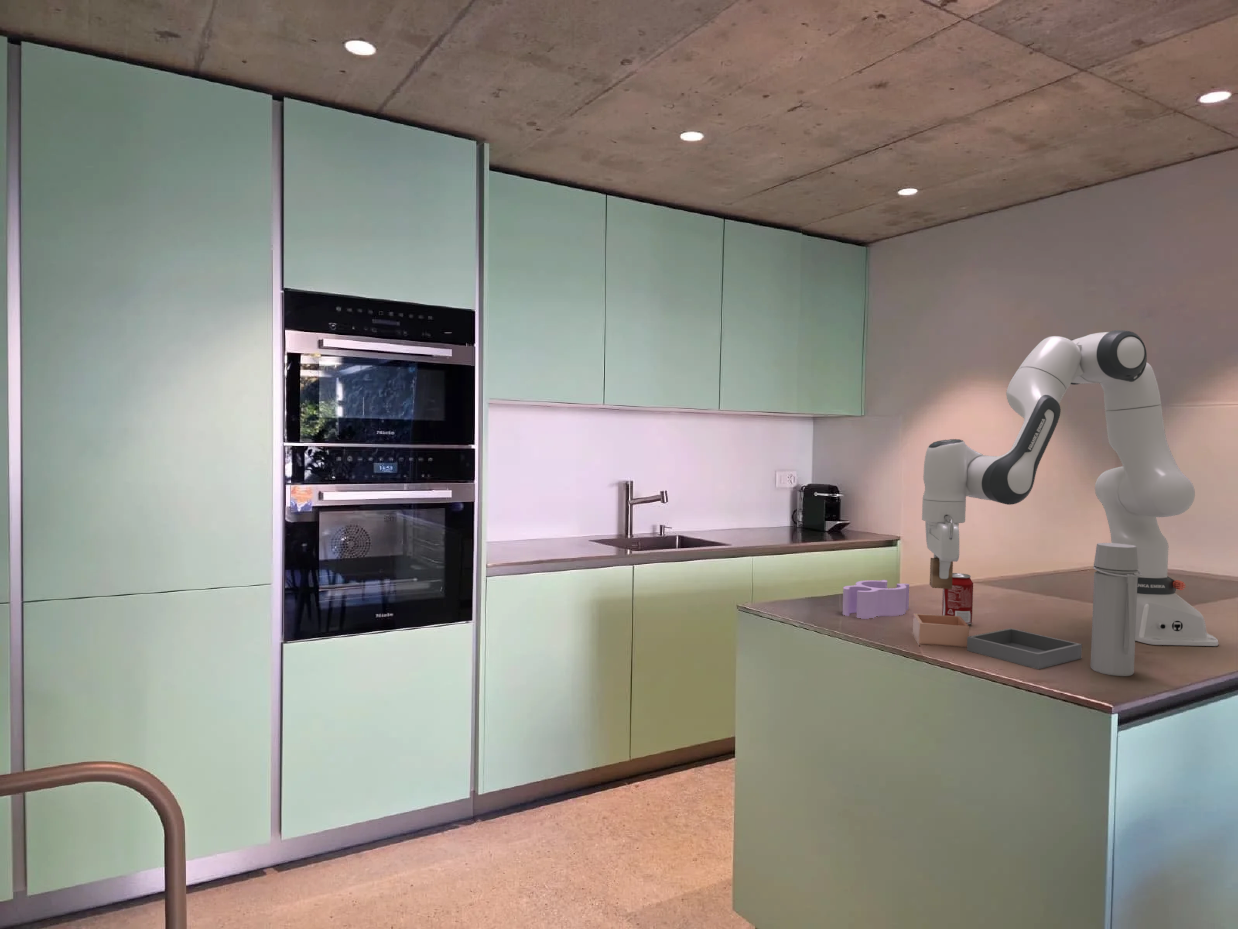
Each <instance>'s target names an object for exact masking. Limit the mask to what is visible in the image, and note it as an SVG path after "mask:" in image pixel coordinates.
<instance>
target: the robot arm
mask: <svg viewBox="0 0 1238 929" xmlns="http://www.w3.org/2000/svg"><path fill="white" fill-rule="evenodd" d="M1147 360H1148V352H1147V347H1146V345H1145V343H1144V341H1143V340H1142V338H1141V337H1140V336H1139V334H1137V333H1136V332H1133V331H1131V330H1122V329H1116V330H1112V331H1106V332H1105V331H1104V332H1103V331H1101V332H1095V333H1090V334H1087V335H1085V336H1081V337H1078V338H1075V339H1069V338H1067V337H1064V336H1059V335H1053V336H1047V337H1045V338H1044V339H1043V340H1041V341H1039V343H1038V344H1037V345H1036V346H1035V347H1034V348H1033V349H1032V350H1031V352H1030V353H1029V354H1028V355H1027V356H1026V357H1025V359H1024V360H1023V361H1022V363H1021V364H1020V365H1019V367H1018V369H1017V370H1016V371H1015V373H1014V375H1013V377H1012V378H1011V380H1010V381H1009V383H1008V386H1007V388H1006V392H1005V395H1006V400H1007V403H1008V405H1009V406H1010V408H1011V409H1012V411H1014V412H1015V413H1017V415H1019V416H1020V417H1022V418H1023V422H1022V426H1021V427H1020V430H1019V431H1018V434H1017V435H1016V438H1015V440H1014V442H1013V444H1012V446H1011V448H1010V449H1009V451H1007V452H1006V453H1004V454H1001V455H999V456H997V455H986V454H985V455H983V454H984V453H980V452H978V451H976V450H974V449H973V448H971V447H970V446H968V445H967V444H966V442H965V441H964V440H962V439H957V438H955V439H954V438H951V439H942V440H936V441H933V442H932V443H930V444H929V445H928V446H927V449H926V451H925V456H924V464H923V476H922V477H923V478H922V479H923V484H924V493H923V495H922V507H921V508H922V510H921V511H922V513H921V520H922V521H925V525H924V526H925V541H926V548H927V549H928V550H929V551H930V552H931V553H932V554H933V558H939V562H940V567H939V577H940V578H941V579H947V578H948V577H949V568H950V564H951V561H952V562H953V563H955V562H958V561H959V558H960V529H959V525H960V524H963V523H965V522H966V508H967V506H966V505H967V504H966V503H967V497H969V498H973V499H978V500H983V501H984V500H985V501H993V502H996V503H998V504H999V503H1000V504H1003V505H1009V506H1010V505H1011V506H1012V505H1016V504H1019V503H1021V502H1022V501H1024V500H1025V499H1026V498H1027V497H1028V496H1029V494H1030V493H1031V492H1032V489H1033V486H1034V485H1035V484H1034V483H1035V479H1036V475H1037V472H1038V467H1039V464H1040V462H1041V460H1042V457H1043V456H1044V454H1045V452H1046V449H1047V448H1048V446H1049V443H1050V441H1051V439H1052V437H1053V434H1054V432H1055V430H1056V428H1057V425H1058V423H1059V420H1060V417H1061V413H1062V412H1061V405H1060V403H1061V401H1062V400H1063V397H1064V395H1065V394H1066V393H1067V390H1068V389H1069V388H1070V386H1071V385H1083V384H1084V385H1085V384H1099V385H1100V386H1101V389H1102V391H1103V401H1104V402H1103V405H1104V414H1105V416H1104V417H1105V423H1106V431H1107V432H1106V433H1107V440H1108V444H1109V446H1110V448H1112V449H1113V451H1114V452H1115V453H1116V454H1117V456H1118V458H1119V461H1120V462H1121V465H1122V466H1118V467H1114V468H1110V469H1106V470H1105V471H1103V472H1102V473H1101V474H1100V475H1098V477H1097V479H1096V481H1095V485H1094V492H1095V495H1096V498H1097V499H1098V500H1099V502H1100V504H1102V506H1103V509H1104V511H1105V512H1104V513H1105V516H1106V519H1107V524H1108V527H1109V533H1110V543H1118V544H1128V545H1134V546H1137V559H1138V569H1137V570H1138V571H1140V572H1141V573H1142V575H1141V576H1139V577H1138V581H1137V606H1136V630H1135V642H1140V643H1142V644H1148V645H1156V646H1162V645H1163V646H1200V647H1202V646H1203V647H1205V646H1206V647H1217V646H1218V645H1219V640H1218V638H1216V637H1215V636H1214V635H1212V634H1209V633H1208V632H1207V625H1206V621H1205V617H1204V616H1203V614H1202V613H1201V612H1200V611H1199V610H1198V609H1196V607H1194V606H1192V605H1191V604H1190V603H1189V602H1187V601H1186V600H1185V599H1184V598H1182V597H1181V596H1179V595H1178V594H1177V593H1176V591H1178V590H1179V591H1183V590H1184V589H1185V588H1186V583H1185V582H1184V581H1183V580H1179V579H1172V577H1169V576H1168V569H1169V542H1168V539H1167V538H1166V537H1165V536H1164V534H1163V532H1162V531H1161V528H1160V526H1159V523H1158V519H1157V518H1167V517H1174V516H1179V515H1181V514H1183V513H1185V512H1187V511H1188V510H1189V509H1190V508H1191V506H1192V505H1193V503H1194V501H1195V496H1196V492H1195V486H1194V485H1193V483H1192V480H1190V478H1188V477H1187V476H1186V475H1185V474H1184V473H1183V472H1182V470H1181V469H1180V468H1179V466H1178V464H1177V462H1176V460H1175V457H1174V456H1173V454H1172V451H1171V448H1170V446H1169V443H1168V440H1167V436H1166V431H1165V423H1164V417H1163V408H1162V400H1161V394H1160V389H1159V385H1158V384H1159V383H1158V381H1157V380H1158V379H1157V378H1156V374H1155V371H1154V368H1153V366H1152V365H1151V364H1150V363H1148V362H1147ZM1134 574H1135V575H1139V573H1138V572H1137V573H1134Z"/></svg>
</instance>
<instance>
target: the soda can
mask: <svg viewBox="0 0 1238 929" xmlns="http://www.w3.org/2000/svg"><path fill="white" fill-rule="evenodd" d="M971 577H972V575H970V574H968V573H961V572H953V574H952V589H943V588H942V603H941V604H942V605H941V615H946V616H960V617H961V618H962V619H963V620H964V621H965V622H966V623H967V625H968V626H970V625H971V624H972V623H973V606H974V605H973V604H974V603H973V602H974V600H973V599H974V582H973V580H972V579H971Z"/></svg>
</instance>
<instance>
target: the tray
mask: <svg viewBox="0 0 1238 929" xmlns="http://www.w3.org/2000/svg"><path fill="white" fill-rule="evenodd" d="M1082 645H1083V644H1082V643H1079V642H1078V643H1077V642H1074V641H1070V640H1065V639H1060V638H1056V637H1051V636H1047V635H1044V634H1043V635H1041V634H1038V633H1033V632H1029V631H1024V630H1021V629H1020V630H1019V629H1016V628H1011V627H1009V628H1005V629H998V630H995V631H989V632H985V633H980V634H974V635H969V636H968V637H967V647H966V651H967V652H971V653H973V654H974V653H975V654H978V655H982V656H986V657H990V658H994V659H998V660H1001V661H1005V662H1009V663H1012V664H1016V665H1020V666H1024V667H1028V668H1032V669H1036V670H1041V669H1045V668H1049V667H1050V668H1051V667H1053V666H1057V665H1062V664H1065V663H1070V662H1073V661H1077V660H1081V659H1082V650H1083V649H1082V648H1083V646H1082Z"/></svg>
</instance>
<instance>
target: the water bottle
mask: <svg viewBox="0 0 1238 929" xmlns="http://www.w3.org/2000/svg"><path fill="white" fill-rule="evenodd" d="M1095 547H1096V548H1095V553H1094V554H1095V555H1094V560H1093V561H1094V562H1093V567H1092V568H1093V569H1094V570H1095V571H1094V572H1093V593H1092V594H1093V595H1092V597H1093V599H1092V618H1091V620H1092V621H1091V622H1092V624H1091V646H1090V668H1091V670H1093V671H1094V672H1097V673H1100V674H1103V675H1108V676H1113V677H1114V676H1116V677H1131V676H1133V674H1134V673H1135V656H1136V655H1135V651H1136V649H1135V648H1136V641H1135V630H1136V606H1137V581H1138V577H1139V576H1141V575H1142V573H1141V572H1140V571H1138V570H1137V569H1138V559H1137V546H1134V545H1128V544H1118V543H1111V542H1097V543H1096V546H1095ZM1137 572H1138V573H1139V575H1135V574H1134V573H1137Z"/></svg>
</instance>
